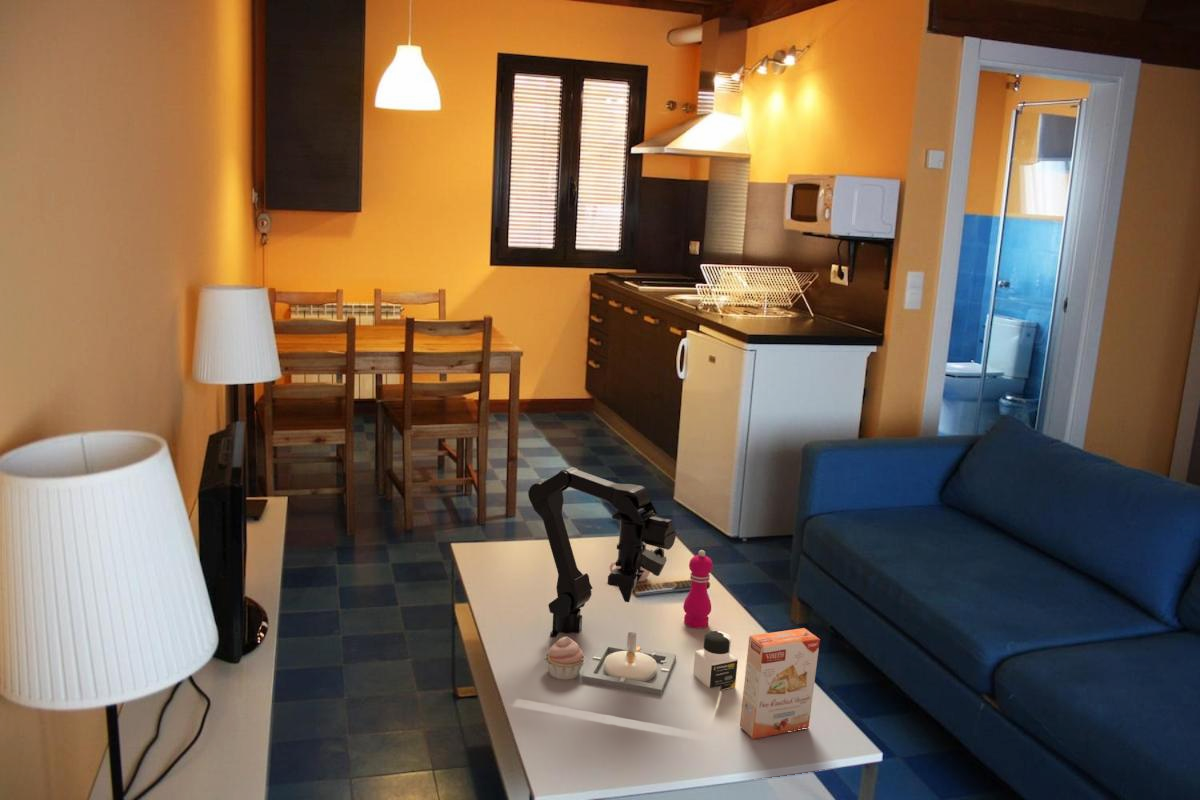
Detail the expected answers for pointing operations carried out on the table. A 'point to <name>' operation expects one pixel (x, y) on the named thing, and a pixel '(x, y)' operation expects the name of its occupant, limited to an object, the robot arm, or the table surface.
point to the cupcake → (565, 659)
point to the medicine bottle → (716, 661)
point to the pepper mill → (698, 592)
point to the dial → (630, 663)
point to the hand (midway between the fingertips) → (627, 601)
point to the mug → (645, 573)
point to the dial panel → (622, 682)
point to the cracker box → (779, 682)
